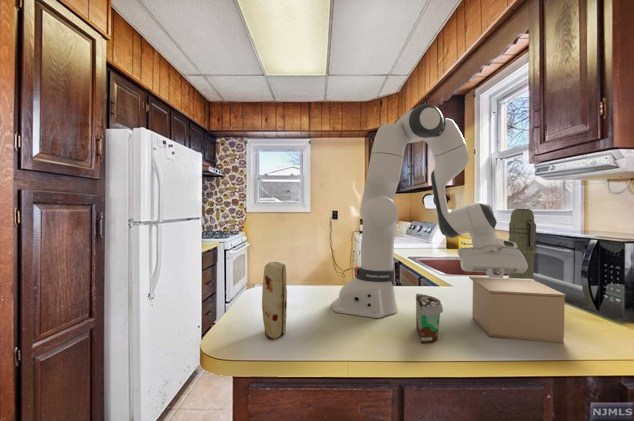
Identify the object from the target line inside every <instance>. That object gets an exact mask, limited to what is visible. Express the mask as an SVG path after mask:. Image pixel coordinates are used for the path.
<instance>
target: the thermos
mask: <svg viewBox="0 0 634 421" xmlns="http://www.w3.org/2000/svg"><path fill="white" fill-rule="evenodd" d="M533 212H534V211H533V210H532V209H531V208H515V209H513V210H512V212H511V214H510V222H509V223H508V232H509V233H508V234H509V236H508V240H507V241H510V242H514V243H516V244H517V250H519V251H520V252H521V253H522V254H523V256H524V258H525V260H526V262H527V264H528V268H527V270H526V271H525V272H524V273H508V277H507V278H520V279H533V280H535V279H534V273H535V270H534V269H535V268H534V265H535V264H534V263H535V255H536V247H537V246H536V242H537V224H536V222H535V214H534V213H533Z"/></svg>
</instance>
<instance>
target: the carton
mask: <svg viewBox="0 0 634 421" xmlns="http://www.w3.org/2000/svg"><path fill="white" fill-rule="evenodd" d="M565 298H566V297H557V296H539V295H521V294H502V293H489V292H488V291H486V290H485V289H483V288H482V287H481V286H479V285H478V284H477V283H475V282H474V281H473V280H472V307H471V308H472V309H471V310H472V314H471V316H472V317H471V318H472V319H473V321H474V320H475V321H476V322H475V321H474V322H475V323H476V324H477V325H478V327H480V328H481V329H482V331H483V330H484V331H483V332H484V333H485V334H486V335H487V336H488V337H489V338H496V337H498V339H508V338H509V339H511V340H524V341H525V340H526V341H536V342H549V343H560V344H563V343H565V342H564V341H565V339H564V337H565Z"/></svg>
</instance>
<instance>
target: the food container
mask: <svg viewBox="0 0 634 421" xmlns="http://www.w3.org/2000/svg"><path fill="white" fill-rule="evenodd" d="M415 301H416V304H415V307H416V308H415V312H416V313H415V323H416V324H415V326H416V327H415V328H416V329H415V330H416V333H417V336H418V339H419V342H420V344H421V345H422V344H424V345H426V344H434V343H436V342H437V341H438V340H439V339H438V338H439V327H440V317H441V313H443V311H444V308H443V304H442V303H441V300H440V299H439V298H436V297H434V296H431V295H427V294H420V293H416V295H415Z"/></svg>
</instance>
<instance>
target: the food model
mask: <svg viewBox="0 0 634 421" xmlns="http://www.w3.org/2000/svg"><path fill="white" fill-rule="evenodd" d="M261 293H262V296H261V297H262V298H261V309H262V310H261V311H262V320H263V326H264V327H263V328H264V334H265V336H266V338H267V339H274V340H275V339H278V338H280V336H281V335H282V334H283V335H285V334H286V332H287V308H288V307H287V306H288V305H287V303H288V302H287V301H288V298H287V297H288V295H287V294H288V291H287V266H286V264H285V263H281V262H279V261H270V262H268V263H266V264H265V265H264V269H263V280H262V292H261Z"/></svg>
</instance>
